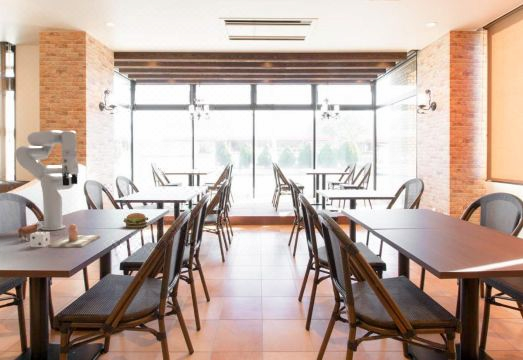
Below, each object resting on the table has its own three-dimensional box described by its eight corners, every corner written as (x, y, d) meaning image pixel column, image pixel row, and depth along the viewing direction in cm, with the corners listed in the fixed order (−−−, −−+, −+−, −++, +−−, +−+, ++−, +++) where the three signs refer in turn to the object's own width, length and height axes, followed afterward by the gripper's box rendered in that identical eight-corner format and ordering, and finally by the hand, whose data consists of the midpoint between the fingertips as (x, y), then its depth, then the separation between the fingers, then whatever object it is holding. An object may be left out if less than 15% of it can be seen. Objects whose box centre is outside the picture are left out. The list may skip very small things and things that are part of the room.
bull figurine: (44, 237, 209) (44, 221, 208) (21, 242, 196) (21, 226, 196) (38, 236, 210) (37, 221, 210) (15, 242, 198) (14, 225, 197)
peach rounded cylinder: (67, 241, 194) (66, 224, 193) (71, 239, 198) (70, 223, 197) (75, 241, 194) (75, 224, 193) (79, 239, 198) (78, 223, 197)
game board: (48, 246, 188) (48, 244, 188) (69, 237, 209) (69, 235, 209) (82, 247, 188) (82, 244, 188) (100, 237, 209) (100, 235, 209)
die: (30, 247, 187) (29, 234, 187) (37, 244, 193) (37, 231, 193) (43, 247, 187) (43, 234, 187) (50, 244, 193) (49, 231, 193)
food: (118, 227, 238) (118, 213, 237) (135, 223, 250) (135, 210, 249) (135, 229, 231) (135, 215, 231) (152, 225, 244) (152, 212, 243)
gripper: (68, 153, 211) (69, 186, 212) (83, 153, 228) (83, 183, 229) (54, 153, 210) (55, 186, 212) (69, 153, 228) (70, 183, 229)
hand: (70, 184), depth 220 cm, fingers open, 9 cm apart
